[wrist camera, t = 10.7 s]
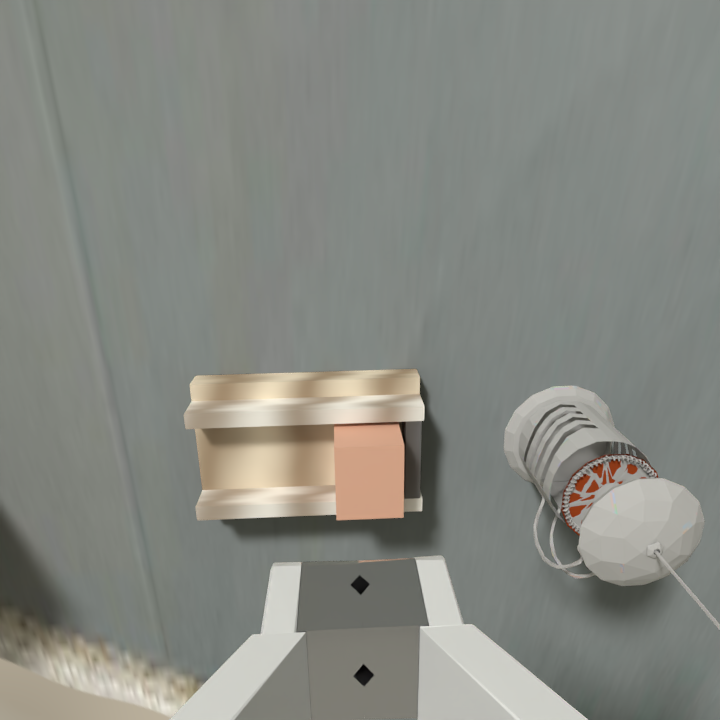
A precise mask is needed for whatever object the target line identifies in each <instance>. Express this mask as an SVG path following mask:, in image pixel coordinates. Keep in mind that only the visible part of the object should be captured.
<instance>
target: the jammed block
mask: <svg viewBox="0 0 720 720" xmlns="http://www.w3.org/2000/svg"><path fill="white" fill-rule="evenodd" d="M334 460H335V490H336V519H337V520H358V519H382V518H404V442H403V438H402V434H401V431H400V427H399V423H398V422H376V423H348V424H334Z"/></svg>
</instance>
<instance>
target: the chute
mask: <svg viewBox="0 0 720 720" xmlns="http://www.w3.org/2000/svg"><path fill="white" fill-rule="evenodd" d="M190 392H191V400H192V402H191V403H190V405H189V407H188V408H187V410H186V412H185V413H184V421H185V429H195V433H196V441H197V449H198V457H199V465H200V474H201V482H202V493H201V495H200V498H199V500H198V503H197V505H196V515H197V520H218V519H242V518H266V517H290V516H314V515H336V490H335V460H334V424H348V423H376V422H398V423H399V427H400V431H401V434H402V438H403V442H404V512H411V511H422V495H421V491H420V475H421V429H422V421H424V412H425V406H424V403H423V401H422V398H421V396H420V376H419V374H418V372H417V369H398V370H366V371H334V372H302V373H269V374H237V375H205V376H195V377H194V379H193V380H192V382H191V383H190Z"/></svg>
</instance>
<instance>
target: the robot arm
mask: <svg viewBox="0 0 720 720" xmlns="http://www.w3.org/2000/svg"><path fill="white" fill-rule="evenodd" d="M364 716H365V719H402V718H418V720H588V719H587V718H585V717H584V716H583V715H582V714H581V713H579V712H578V711H577V710H576V709H575V708H573V707H572V706H571V705H570V704H568V703H567V702H566V701H565V700H564V699H562V698H561V697H560V696H559V695H558V694H556V693H555V692H554V691H553V690H552V689H550V688H549V687H548V686H547V685H546V684H544V683H543V682H542V681H541V680H540V679H538V678H537V677H536V676H535V675H533V674H532V673H531V672H530V671H529V670H527V669H526V668H525V667H524V666H523V665H521V664H520V663H519V662H518V661H517V660H515V659H514V658H513V657H512V656H511V655H509V654H508V653H507V652H506V651H505V650H503V649H502V648H501V647H500V646H498V645H497V644H496V643H495V642H494V641H492V640H491V639H490V638H489V637H488V636H486V635H485V634H484V633H483V632H482V631H480V630H479V629H478V628H477V627H476V626H474V625H473V624H464V622H463V619H462V616H461V612H460V609H459V605H458V602H457V599H456V595H455V592H454V588H453V585H452V582H451V578H450V575H449V572H448V568H447V565H446V561H445V559H444V557H443V556H442V555H440V556H425V557H414V558H407V559H387V560H366V561H312V562H303V563H301V562H285V563H274V564H273V565H272V567H271V571H270V578H269V584H268V590H267V597H266V603H265V610H264V616H263V622H262V629H261V634H257V635H251V636H250V637H249V638H248V639H247V640H246V641H245V642H244V643H243V644H242V645H241V646H240V647H239V648H238V650H237V651H236V652H235V653H234V654H233V655H232V656H231V657H230V658H229V659H228V660H227V661H226V662H225V663H224V664H223V665H222V666H221V667H220V668H219V669H218V670H217V671H216V672H215V673H214V674H213V675H212V676H211V677H210V678H209V679H208V680H207V681H206V682H205V683H204V684H203V685H202V687H201V688H200V689H199V690H198V691H197V692H196V693H195V694H194V695H193V696H192V697H191V698H190V699H189V700H188V701H187V702H186V703H185V704H184V705H183V706H182V707H181V708H180V709H179V710H178V711H177V712H176V713H175V714H174V715H173V716H172V717H171V718H170V719H169V720H363V719H364Z"/></svg>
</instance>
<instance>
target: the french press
mask: <svg viewBox="0 0 720 720" xmlns="http://www.w3.org/2000/svg"><path fill="white" fill-rule="evenodd" d="M612 441H614V454H610V453H611V446H612ZM618 442H621V454H618ZM624 443H627V445H628V450H629V454H626V449H625V445H624ZM632 449H633V450H635V451H636V455H637V457H635V456H633V452H632ZM504 452H505V454H506V457H507V459H508V462H509V464H510V467H511V468H512V469H513V470H514V471H515V472H516V473H517V474H519V475H520V476H521V477H522V478H523V479H524V480H526V481H529V482H532V483H534V484H535V486H536V487H537V489H538V491H539V492H540V494H541V495H542V501H541V504H540V506H539V509H538V511H537V514H536V517H535V521H534V526H533V527H534V540H535V544H536V548H537V550H538V552H539V553H540V555H541V557H542V559H543V560H544V561H545V562H546V563H547V564H549V565H550V566H553V567H555V568H557V569H561V570H563V571H564V572H565V573H566V574H568V575H570V576H572V577H574V578H576V579H579V578H589V577H592V576H594V575H596V576H598V577H599V578H600V579H601V580H603V581H607V582H610V583H613V584H616V585H620V586H633V585H645V584H648V583H651V582H653V581H656V580H659V579H661V578H664V577H667V576H669V575H670V574H671V573H672V574H673V575H674V576H675V578H676V579H677V580H678V581H679V582H680V583H681V585H682V586H683V587H684V588H685V589H686V591H687V592H688V593H689V594H690V595H691V596H692V598H693V599H694V600H695V601H696V602H697V604H698V605H699V606H700V607H701V608H702V609H703V611H704V612H705V613H706V614H707V615H708V617H709V618H710V619H711V620H712V621H713V622H714V624H715V625H716V626H717V627H718V628H719V630H720V624H719V623H718V622H717V620H716V619H715V618H714V617H713V616H712V615H711V613H710V612H709V611H708V610H707V609H706V608H705V606H704V605H703V604H702V603H701V602H700V601H699V599H698V598H697V597H696V596H695V595H694V594H693V592H692V591H691V590H690V589H689V588H688V587H687V585H686V584H685V583H684V582H683V581H682V579H681V578H680V577H679V576H678V575H677V574H676V572H675V570H676V569H678V568H679V567H680V566H682V565H683V564H684V563H685V562H687V561H688V559H689V558H690V556H691V555H692V553H693V552H694V550H695V549H696V547H697V546H698V544H699V543H700V541H701V536H702V531H703V527H704V522H705V521H704V517H703V514H702V510H701V506H700V502H699V501H698V500H697V499H696V498H695V497H694V496H693V495H692V494H691V493H690V492H689V491H688V490H687V489H686V488H685V487H684V486H682V485H679V484H676V483H674V482H671V481H669V480H666V479H664V478H658V475H657V472H656V471H655V470H654V469H653V468H652V467H651V465H650V463H649V461H648V459H647V457H646V455H645V454H643V453H642V452H641V451H640V450H639V449H638V448H637V447H636V446H635V445H633V444H632V443H631V442H630V441H629V440H628V439H627V438H626V437H625V436H623V435H622V434H621V433H620V432H619V431H618V430H617V429H616V428H615V427H614V422H613V419H612V416H611V413H610V410H609V407H608V406H607V405H606V404H605V403H604V402H603V401H602V400H601V399H600V398H599V397H598V396H597V395H596V394H595V393H594V392H591V391H588V390H586V389H583V388H580V387H577V386H557V387H551V388H549V389H546V390H544V391H541V392H539V393H537V394H534V395H532V396H531V397H529V398H528V399H527V400H526V401H525V402H524V403H523V404H522V405H521V406H520V407H518V408H517V409H516V410H515V411H514V413H513V415H512V417H511V419H510V421H509V423H508V425H507V427H506V429H505V438H504ZM541 486H543V488H542V487H541ZM550 494H551V496H552V497H553V499H554V500H555V502H556V503H557V505H558V509H557V510H556V508H555V507H554V505H553V504H552V502H551V501H550ZM545 499H546V501H547V502H548V504H549V505H550V507H551V508H552V510H553V511H554V513H555V514H556V515H555V517H554V520H553V522H552V526H551V532H550V546H551V551H552V555H553V557H554V559H555V561H556V562H557V564H558V565H557V564H555V563H553V562H551V561H550V560H549V559H547V558H546V557H545V555H544V553H543V551H542V549H541V547H540V545H539V542H538V535H537V525H538V520H539V516H540V513H541V510H542V508H543V505H544V503H545ZM560 511H562V513H563V516H564V518H565V521H566V524H567V526H569V527H570V528H571V529H572V530H573V531H574V532H575V533H576V534H578V535H579V536H580V537H579V545H578V546H577V550H578V551H579V553H580V555H581V558H580V559H579V560H578V561H576V562H573V563H571V564H569V565H562V564H561V562H560V561H559V559H558V558H557V556H556V552H555V548H554V543H553V531H554V526H555V523H556V521H557V518H558V517H559V518H560V519H561V520H562V521H563V522H564V520H563V519H562V517H561V516H560ZM583 560H584V563H585V565H586V567H587V568H589V569H590V570H591V571H592V572H591V573H589V574H580V575H576V574H574V573H571V572H569V571H568V570H567V569H565V568H572V567H574V566H577V565H579V564H581V562H582V561H583Z"/></svg>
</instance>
